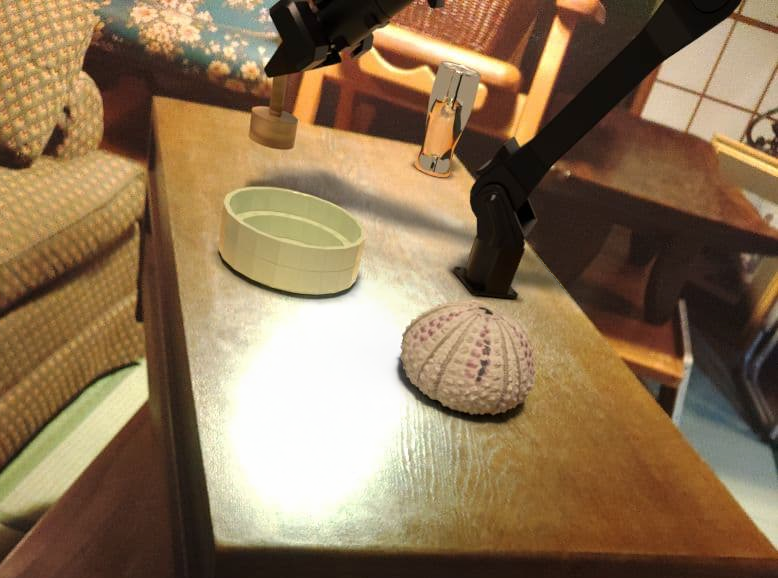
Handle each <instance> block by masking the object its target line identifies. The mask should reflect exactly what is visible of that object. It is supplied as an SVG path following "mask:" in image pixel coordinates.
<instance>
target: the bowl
mask: <svg viewBox="0 0 778 578" xmlns="http://www.w3.org/2000/svg"><path fill="white" fill-rule="evenodd" d="M220 221H221V222H220V223H221V224H220V231H219V240H218V247H217V248H218V250H219V253H220V255H221V258H222V259H223V261H225V262H226V263H227V264H228V265H229V266H230V267H231V268H232V269H233V270H235V271H236V272H238V273H240V274H242V275H243V276H245V277H247V278H249V279H250V280H252V281H255V282H256V283H259V284H261V285H263V286H266V287H268V288H272V289H276V290H279V291H282V292H286V293H292V294H300V295H326V294H327V295H328V294H336V293H339V292H341V291H344V290H347V289H350V288H351V287H352V285H353V284H354V283H355V282H356V281H357V277H358V273H359V270H360V265H361V260H362V257H363V252H364V248H365V244H366V240H367V230H366V228H365V226H364V225H363V224H362V222H361V221H360V220H359V219H358V217H356V216H354V215H353V214H352V213H350V212H349V211H348V210H346V209H344V208H343V207H340V206H338V205H337V204H335V203H332V202H331V201H328V200H325V199H323V198H320V197H317V196H315V195H312V194H309V193H304V192H301V191H297V190H293V189H288V188H282V187H273V186H247V187H241V188H237V189H236V188H235V189H234V190H232V191H230V192H229V193H227V194H226V195H225V197H224V200H223V203H222V213H221V220H220Z"/></svg>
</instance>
